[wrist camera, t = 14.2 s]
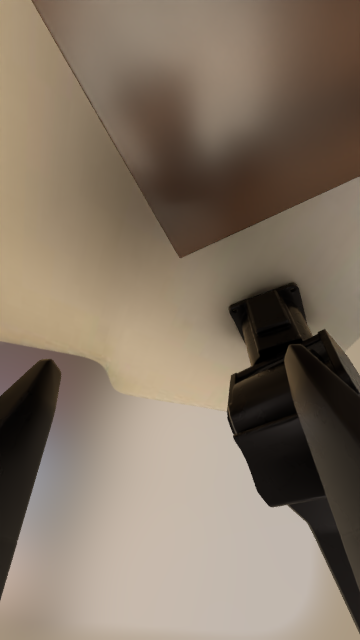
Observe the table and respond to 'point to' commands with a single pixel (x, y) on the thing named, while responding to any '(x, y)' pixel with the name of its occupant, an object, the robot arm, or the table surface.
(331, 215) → the table surface
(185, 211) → the shelf
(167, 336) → the table surface
